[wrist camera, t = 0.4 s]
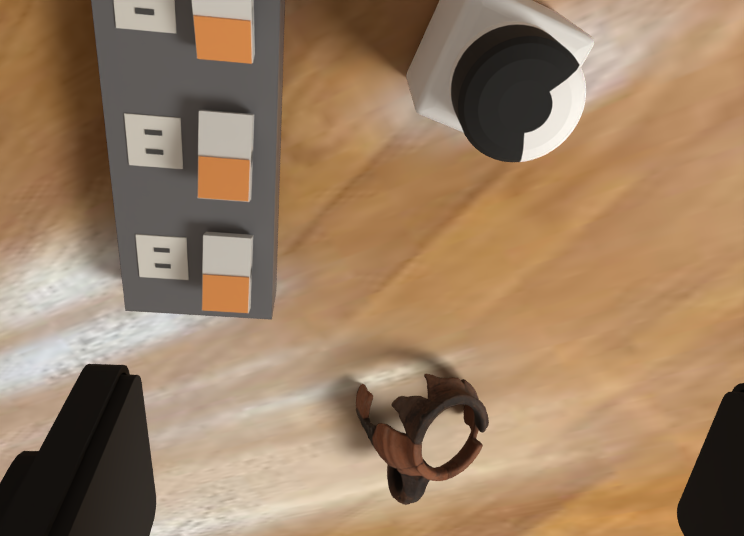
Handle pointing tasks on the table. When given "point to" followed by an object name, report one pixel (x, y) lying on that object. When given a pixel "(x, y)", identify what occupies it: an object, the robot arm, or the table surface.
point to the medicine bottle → (502, 75)
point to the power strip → (185, 149)
